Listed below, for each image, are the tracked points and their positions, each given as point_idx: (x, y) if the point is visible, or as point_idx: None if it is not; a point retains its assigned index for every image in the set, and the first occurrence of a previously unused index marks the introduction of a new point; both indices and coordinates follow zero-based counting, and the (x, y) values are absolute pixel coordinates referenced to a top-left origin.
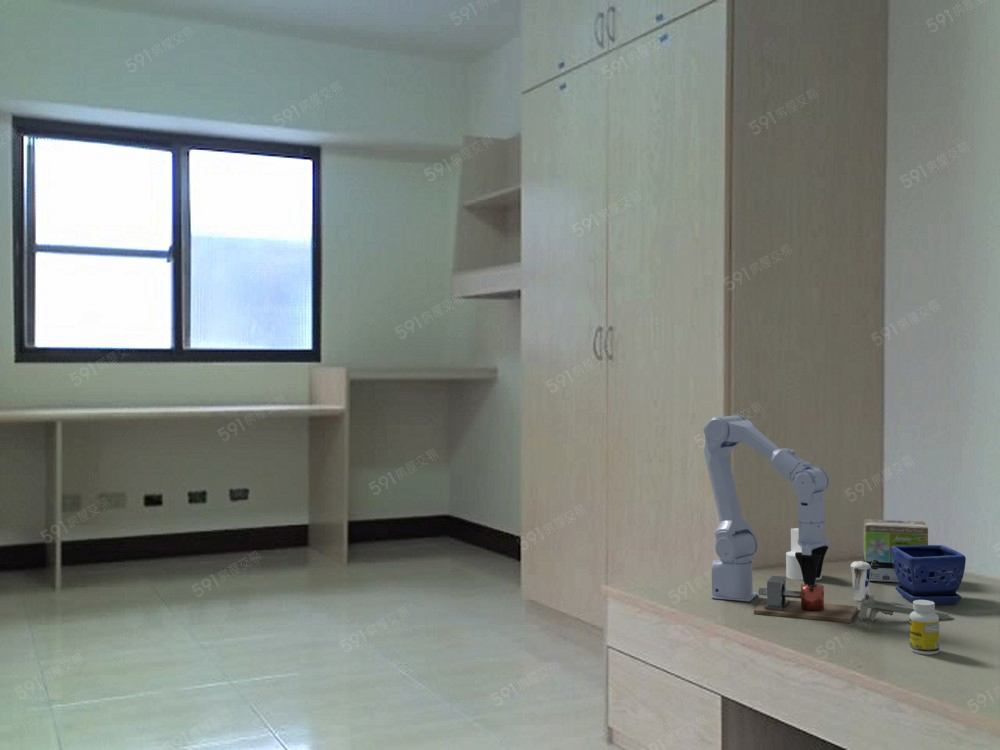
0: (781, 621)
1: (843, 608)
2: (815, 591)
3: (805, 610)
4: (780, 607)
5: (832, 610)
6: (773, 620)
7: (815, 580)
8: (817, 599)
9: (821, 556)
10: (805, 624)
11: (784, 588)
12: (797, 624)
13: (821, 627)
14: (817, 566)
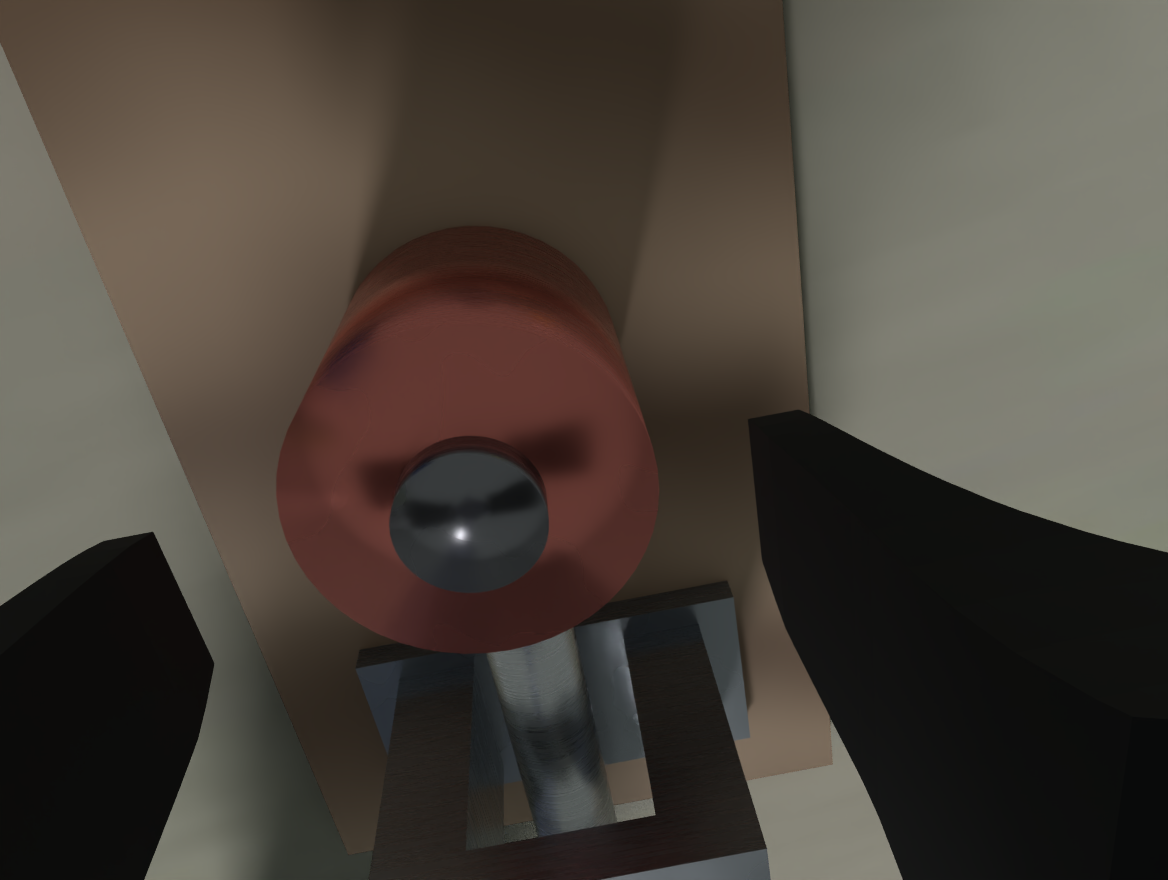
0: (988, 470)
1: (206, 11)
2: (623, 377)
3: None
4: (715, 619)
5: (411, 115)
6: None
7: (778, 434)
8: (590, 311)
9: (1106, 707)
10: (1026, 227)
11: (466, 785)
12: (1053, 300)
13: (1103, 12)
14: (958, 560)
